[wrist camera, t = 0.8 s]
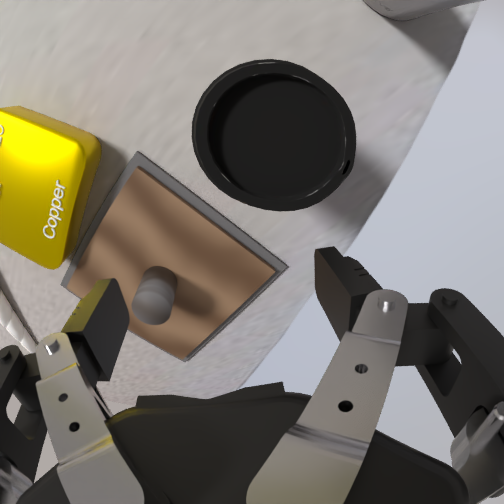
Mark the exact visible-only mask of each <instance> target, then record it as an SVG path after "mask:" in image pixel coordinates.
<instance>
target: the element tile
mask: <svg viewBox="0 0 504 504" xmlns="http://www.w3.org/2000/svg"><path fill="white" fill-rule="evenodd" d="M100 158H101V145H100V142H99V140H98V139H97V138H96V137H95V136H94V135H92V134H91V133H89V132H86V131H84V130H81V129H79V128H76V127H74V126H71V125H69V124H66V123H64V122H61V121H58V120H56V119H53V118H51V117H48V116H45V115H43V114H40V113H37V112H35V111H32V110H29V109H27V108H24V107H21V106H12V107H5V108H0V243H2V244H3V245H5V246H7V247H8V248H10V249H12V250H14V251H15V252H17V253H19V254H21V255H22V256H24V257H26V258H28V259H30V260H31V261H33V262H35V263H37V264H39V265H41V266H43V267H44V268H47V269H53V270H54V269H57V268H59V267H60V265H61V264H62V263H63V262H64V261H65V260H66V258H67V257H68V256H69V255H70V254H71V253H72V251H73V250H74V249H75V246H76V243H77V239H78V234H79V230H80V226H81V222H82V218H83V214H84V211H85V207H86V203H87V200H88V196H89V193H90V190H91V186H92V183H93V180H94V177H95V174H96V171H97V168H98V165H99V162H100Z"/></svg>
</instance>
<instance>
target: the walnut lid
mask: <svg viewBox="0 0 504 504" xmlns="http://www.w3.org/2000/svg"><path fill="white" fill-rule="evenodd" d="M274 273H275V268H274V267H272V266H271V265H270V264H268V263H267V262H266V261H264V260H263V259H262V258H260V257H259V256H258V255H257V254H255V253H254V252H253V251H251V250H250V249H249V248H247V247H246V246H245V245H243V244H242V243H241V242H239V241H238V240H237V239H235V238H234V237H233V236H231V235H230V234H229V233H227V232H226V231H225V230H223V229H222V228H221V227H219V226H218V225H217V224H215V223H214V222H213V221H211V220H210V219H209V218H207V217H206V216H205V215H204V214H202V213H201V212H200V211H198V210H197V209H196V208H194V207H193V206H192V205H190V204H189V203H188V202H186V201H185V200H184V199H182V198H181V197H180V196H178V195H177V194H176V193H174V192H173V191H172V190H170V189H169V188H168V187H166V186H165V185H164V184H162V183H161V182H160V181H158V180H157V179H156V178H154V177H153V176H152V175H150V174H149V173H148V172H147V171H145V170H144V169H143V168H141V167H140V166H137V167H136V169H135V170H134V171H133V173H132V174H131V176H130V177H129V179H128V180H127V182H126V183H125V185H124V186H123V188H122V189H121V191H120V193H119V194H118V196H117V197H116V199H115V200H114V202H113V204H112V205H111V207H110V208H109V210H108V212H107V213H106V215H105V217H104V218H103V220H102V222H101V223H100V225H99V227H98V229H97V230H96V232H95V234H94V236H93V237H92V239H91V241H90V243H89V245H88V246H87V248H86V250H85V252H84V254H83V256H82V258H81V259H80V261H79V263H78V265H77V267H76V269H75V271H74V273H73V275H72V277H71V279H70V281H69V283H68V285H67V289H69V290H70V291H72V292H73V293H74V294H76V295H77V296H79V297H80V298H81V299H82V298H84V297H85V296H86V295H87V294H88V293H90V291H91V290H92V288H93V287H94V285H95V284H96V282H97V281H98V280H103V279H110V278H115V279H116V280H117V281H118V283H119V286H120V289H121V292H122V294H123V297H124V300H125V303H126V305H127V308H128V311H129V316H130V322H129V326H128V329H129V330H130V331H132V332H134V333H135V334H137V335H139V336H140V337H142V338H144V339H146V340H147V341H149V342H151V343H152V344H154V345H156V346H158V347H160V348H161V349H163V350H165V351H167V352H169V353H170V354H172V355H174V356H176V357H178V358H180V359H182V360H183V359H184V358H185V357H186V356H187V355H188V354H189V353H190V352H192V351H193V350H194V349H195V348H196V347H197V346H198V345H199V344H200V343H201V342H202V341H203V340H205V339H206V338H207V337H208V336H209V335H210V334H211V333H212V332H213V331H214V330H215V329H216V328H217V327H218V326H219V325H221V324H222V323H223V322H224V321H225V320H226V319H227V318H228V317H229V316H230V315H231V314H232V313H233V312H234V311H235V310H236V309H237V308H239V307H240V306H241V305H242V304H243V303H244V302H245V301H246V300H247V299H248V298H249V297H250V296H251V295H252V294H253V293H254V292H255V291H256V290H257V289H258V288H259V287H260V286H261V285H262V284H263V283H265V282H266V281H267V280H268V279H269V278H270V277H271V276H272V275H273V274H274Z"/></svg>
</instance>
